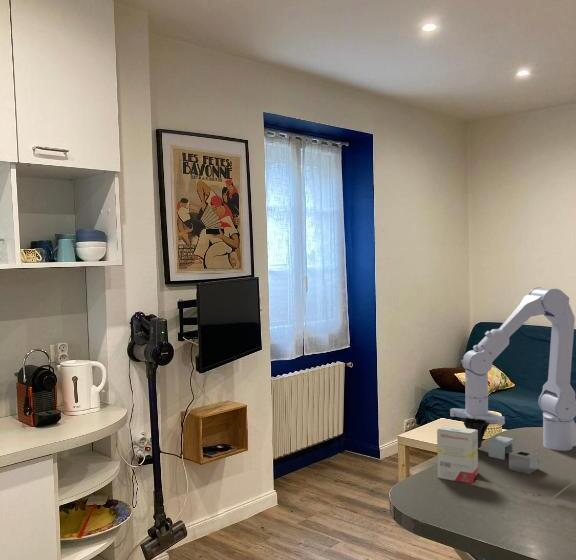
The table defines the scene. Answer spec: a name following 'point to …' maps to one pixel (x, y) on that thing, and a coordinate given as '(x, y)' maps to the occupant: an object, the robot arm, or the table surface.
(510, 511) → the table surface
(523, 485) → the table surface
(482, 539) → the table surface
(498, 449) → the block
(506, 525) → the table surface
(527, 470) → the block
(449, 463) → the ink box
